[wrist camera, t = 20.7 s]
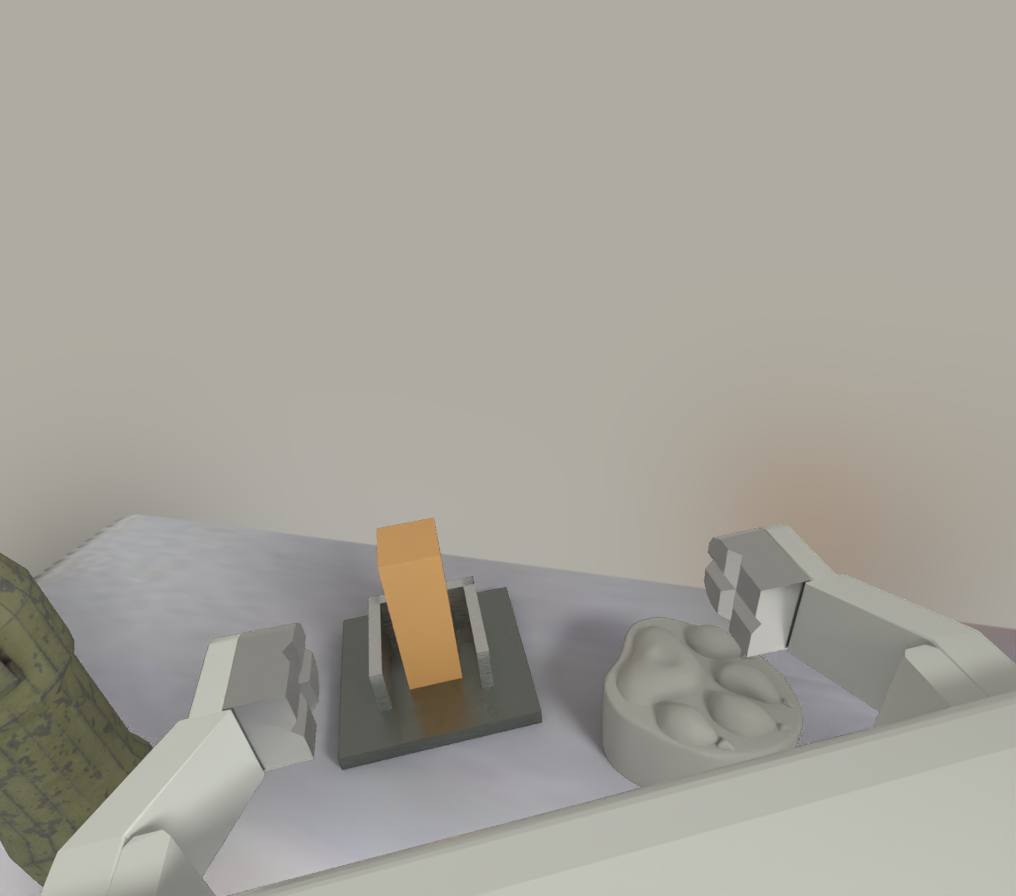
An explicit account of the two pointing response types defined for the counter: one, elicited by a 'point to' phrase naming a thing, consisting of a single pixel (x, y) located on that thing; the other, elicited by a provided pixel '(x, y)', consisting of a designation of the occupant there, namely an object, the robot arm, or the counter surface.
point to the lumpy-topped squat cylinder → (692, 703)
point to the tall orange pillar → (418, 602)
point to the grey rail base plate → (438, 707)
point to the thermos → (50, 730)
